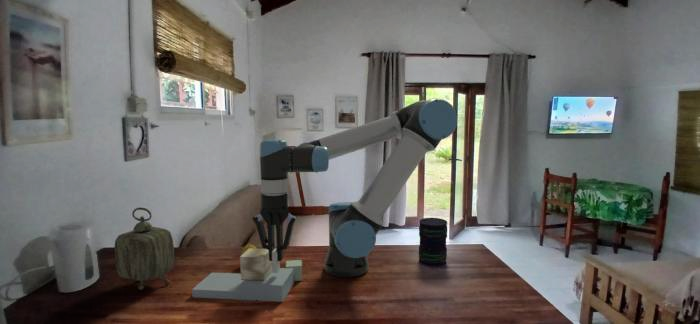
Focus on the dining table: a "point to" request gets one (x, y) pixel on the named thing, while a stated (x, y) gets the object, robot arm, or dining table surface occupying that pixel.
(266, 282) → the stair
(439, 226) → the storage jar
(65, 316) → the dining table surface
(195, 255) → the dining table surface
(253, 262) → the birch cube
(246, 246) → the lemon
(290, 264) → the sage cube
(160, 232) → the tabletop clock
